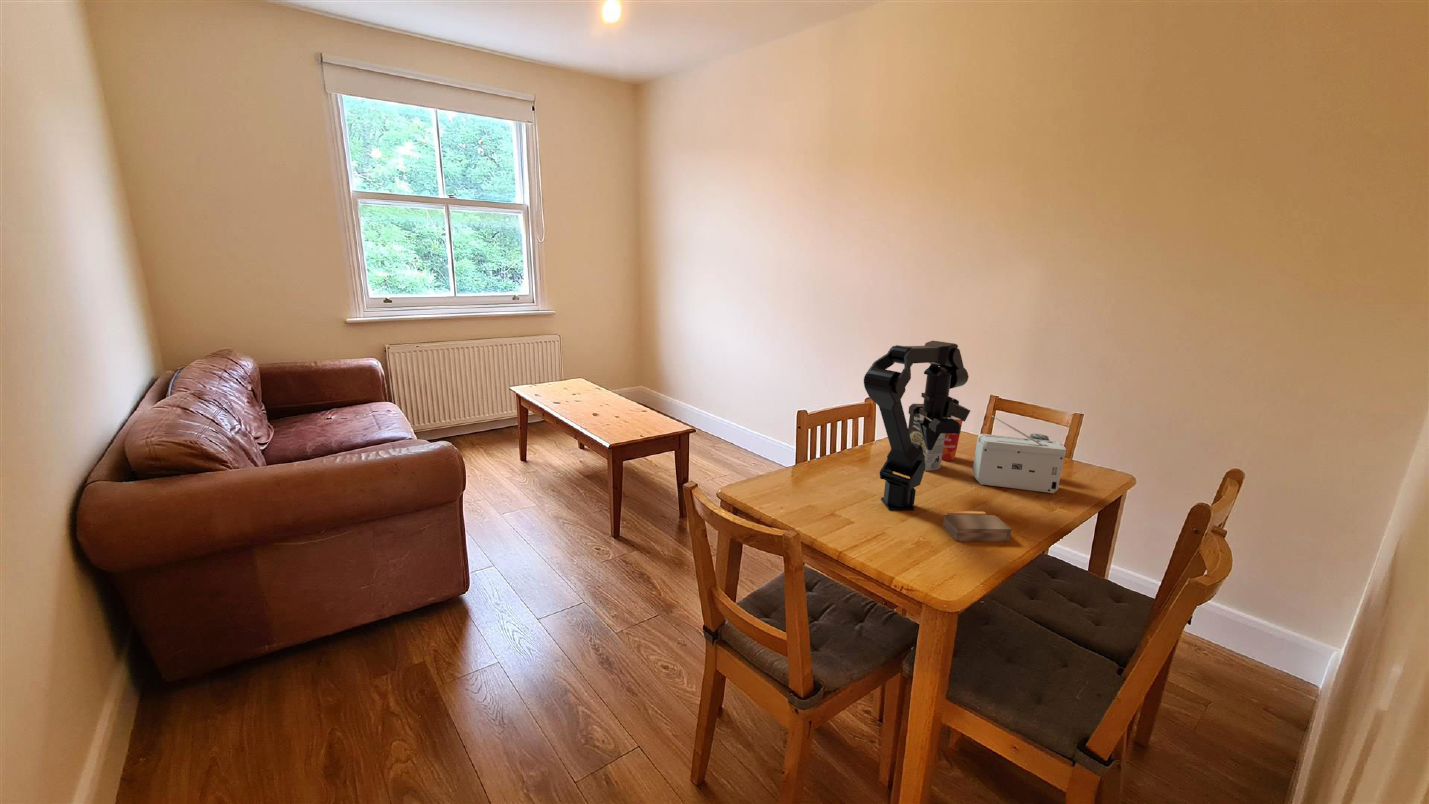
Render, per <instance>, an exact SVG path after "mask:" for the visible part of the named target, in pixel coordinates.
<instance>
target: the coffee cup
mask: <svg viewBox="0 0 1429 804" xmlns="http://www.w3.org/2000/svg"><path fill="white" fill-rule="evenodd" d="M951 418H952V419H954V420H955V421H957V422H958V423H959V424H960V425H961V427H962V426H963V421H962V420H961V419H959V418H956V417H954V416H951ZM960 435H961V433H960V434H945V440H944V446H943V453H942V459H941V461H944V462H951V461H954V460H955V457H956V453H957V448H958V445H959V440H960Z"/></svg>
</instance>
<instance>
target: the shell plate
mask: <svg viewBox="0 0 1429 804" xmlns="http://www.w3.org/2000/svg"><path fill="white" fill-rule="evenodd" d="M945 515H987V512H985V511H973V510H972V511H969V510H968V511H964V510H963V511H962V510H960V511H959V510H957V511H955V510H954V511H953V510H951V511H950V510H946V513H945Z"/></svg>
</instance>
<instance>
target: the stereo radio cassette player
mask: <svg viewBox="0 0 1429 804" xmlns="http://www.w3.org/2000/svg"><path fill="white" fill-rule="evenodd" d="M991 417H992V418H995V419H996V420H997V421H999V422H1001V423H1002V424H1004V425H1006V426H1007V427H1009V428H1010V429H1012V430H1013V431H1015V432H1017V433H1019V434H1021V435H1022V436H1024V437H1018V436H1007V435H1006V436H1005V435H998V434H997V435H995V434H987V433H979V434H978V436H977V441H976V444H975V447H976V448H975V453H974V459H973V464H972V465H973V466H972V475H973V476H974V478H975V479H976V481H977V482H978V483H979V484H980V485H981V486H983V485H986V486H992V487H993V486H994V487H1002V488H1008V489H1017V490H1025V491H1031V492H1040V493H1041V492H1042V493H1048V494H1051V493H1052V494H1055V492H1057V491H1059V486H1060V483H1061V476H1062V471H1063V466H1064V461H1065V456H1066V454H1067V448H1066V447H1065V446H1064V445H1063V443H1062V442H1060V441H1056V440H1050V441H1047V440H1037V439H1033V438H1031V437H1029V436H1030V435H1027V434H1026V433H1024V432H1022V431H1020V430H1018V429H1017V428H1016V427H1013V426H1011V425H1010V424H1008V423H1006V422H1004V421H1002V420H1001V419H999V418H998V417H995V415H991ZM1028 438H1029V439H1028Z"/></svg>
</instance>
